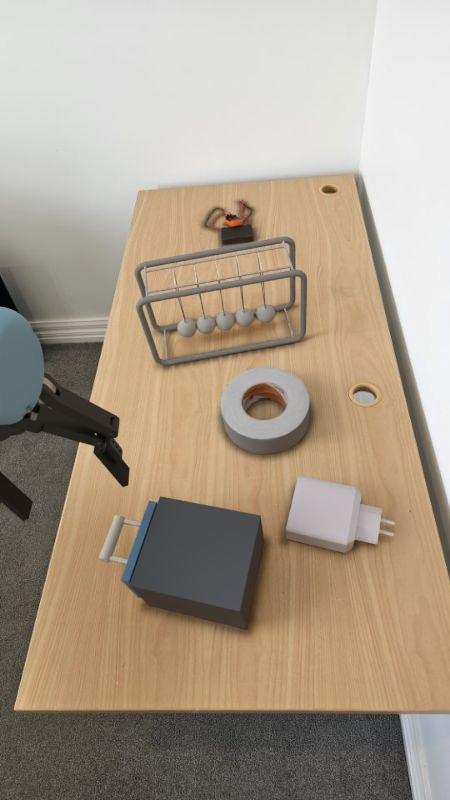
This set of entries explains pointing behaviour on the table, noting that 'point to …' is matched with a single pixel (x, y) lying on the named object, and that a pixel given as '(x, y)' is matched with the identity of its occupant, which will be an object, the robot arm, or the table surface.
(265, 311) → the newton's cradle
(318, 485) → the charger
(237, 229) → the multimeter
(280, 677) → the table surface
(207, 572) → the cabinet
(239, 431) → the tape roll
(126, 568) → the drawer
